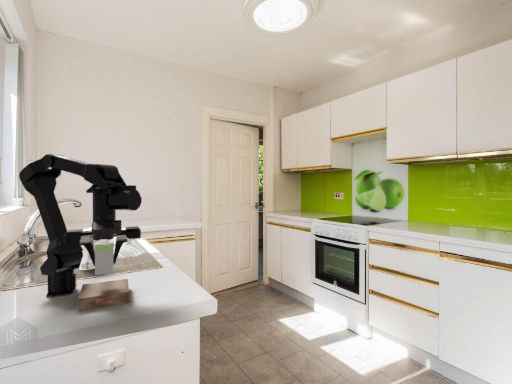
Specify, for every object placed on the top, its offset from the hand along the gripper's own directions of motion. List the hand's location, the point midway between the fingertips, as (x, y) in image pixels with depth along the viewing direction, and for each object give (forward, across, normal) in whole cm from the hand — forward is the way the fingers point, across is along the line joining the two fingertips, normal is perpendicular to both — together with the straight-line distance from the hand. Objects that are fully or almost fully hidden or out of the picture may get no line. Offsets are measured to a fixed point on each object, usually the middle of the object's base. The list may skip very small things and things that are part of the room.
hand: (104, 264), depth 82 cm
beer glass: (+10, -7, +36) cm, 38 cm away
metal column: (+2, 0, 0) cm, 2 cm away
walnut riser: (+10, 0, 0) cm, 10 cm away
